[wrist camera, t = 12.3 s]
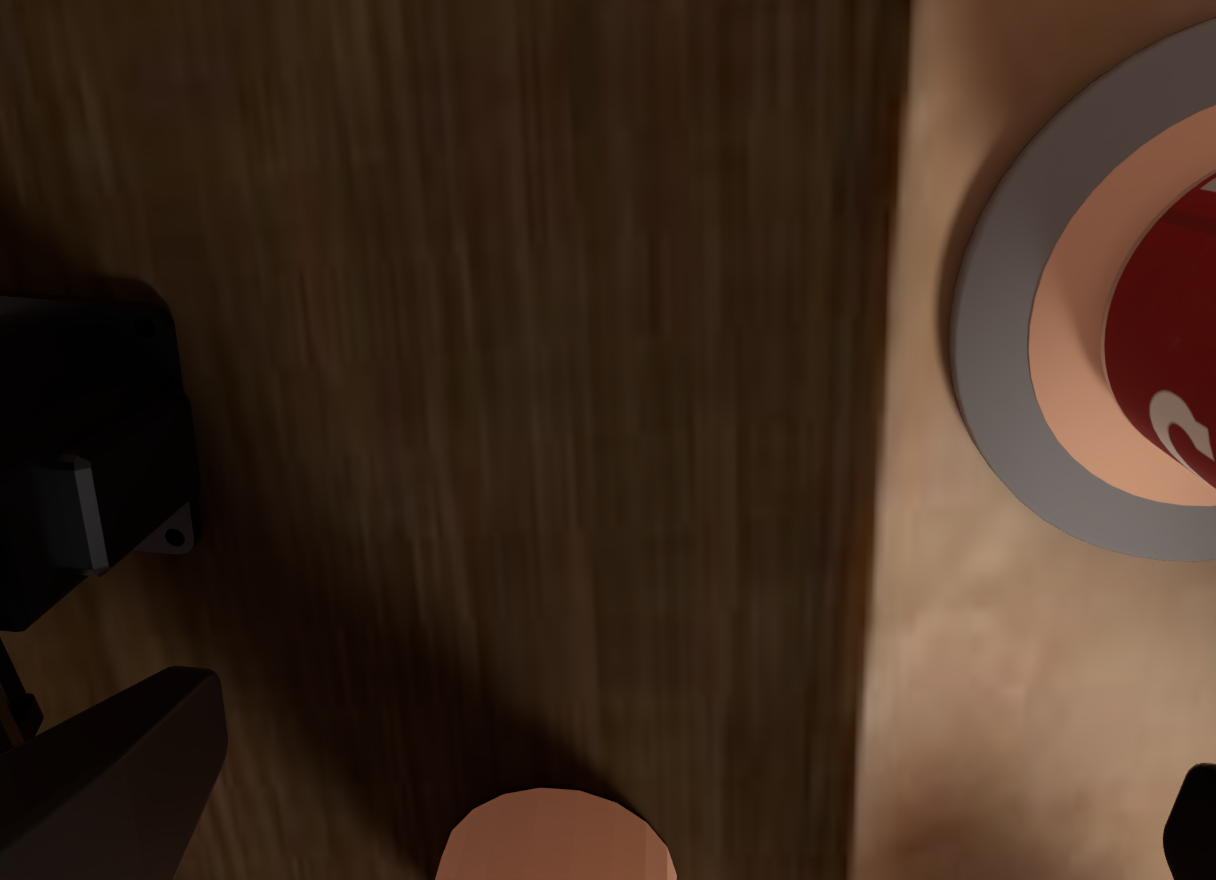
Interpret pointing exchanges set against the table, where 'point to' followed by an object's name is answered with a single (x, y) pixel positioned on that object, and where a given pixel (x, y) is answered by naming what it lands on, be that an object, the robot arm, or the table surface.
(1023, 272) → the coaster
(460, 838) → the pepper shaker
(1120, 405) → the soda can
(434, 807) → the table surface
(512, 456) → the table surface
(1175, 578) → the table surface
